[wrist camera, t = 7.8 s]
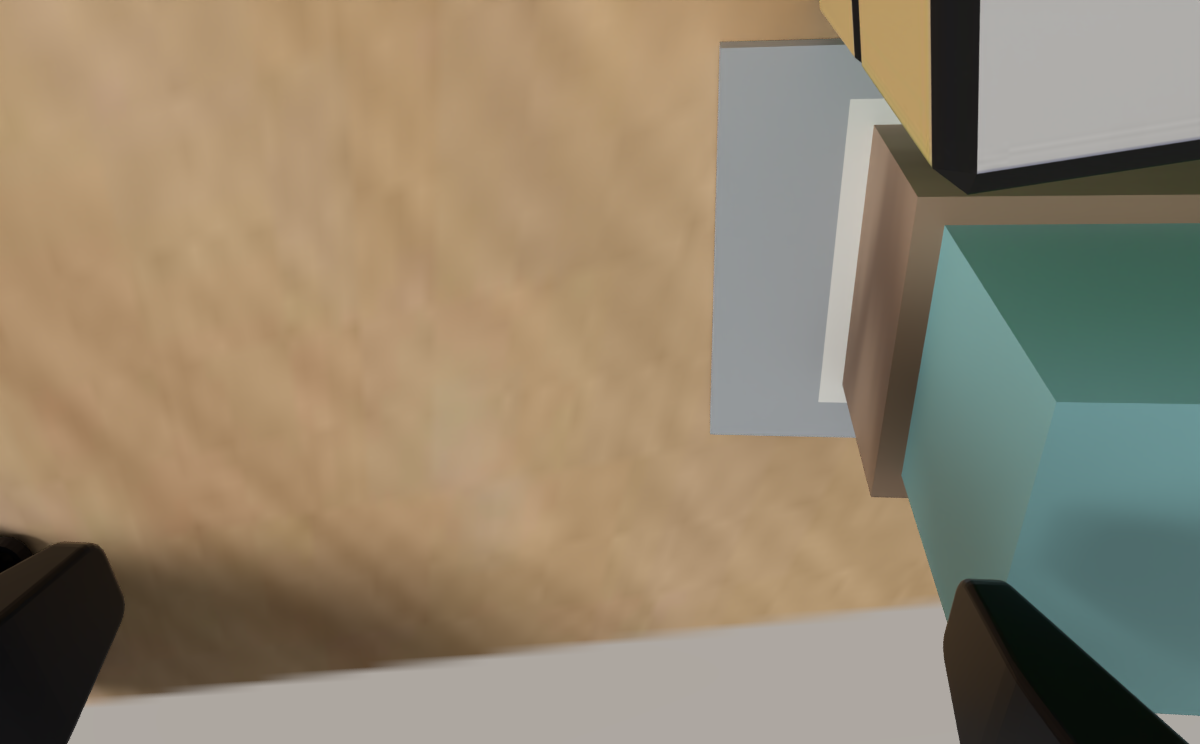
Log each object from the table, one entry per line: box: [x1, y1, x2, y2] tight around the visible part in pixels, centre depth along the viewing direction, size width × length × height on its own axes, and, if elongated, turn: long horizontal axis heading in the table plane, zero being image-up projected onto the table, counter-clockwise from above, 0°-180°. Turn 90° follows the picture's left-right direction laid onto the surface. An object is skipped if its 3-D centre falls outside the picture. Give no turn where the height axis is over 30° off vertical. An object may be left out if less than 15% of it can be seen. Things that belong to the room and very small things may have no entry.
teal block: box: [901, 223, 1200, 716], centre depth 12 cm, size 5×5×5 cm
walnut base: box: [842, 124, 1200, 498], centre depth 16 cm, size 6×6×4 cm
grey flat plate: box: [710, 38, 901, 438], centre depth 18 cm, size 9×12×1 cm
